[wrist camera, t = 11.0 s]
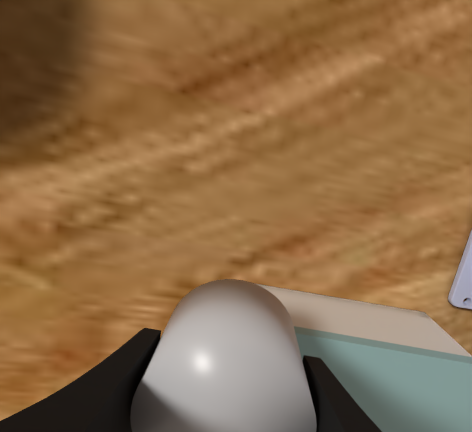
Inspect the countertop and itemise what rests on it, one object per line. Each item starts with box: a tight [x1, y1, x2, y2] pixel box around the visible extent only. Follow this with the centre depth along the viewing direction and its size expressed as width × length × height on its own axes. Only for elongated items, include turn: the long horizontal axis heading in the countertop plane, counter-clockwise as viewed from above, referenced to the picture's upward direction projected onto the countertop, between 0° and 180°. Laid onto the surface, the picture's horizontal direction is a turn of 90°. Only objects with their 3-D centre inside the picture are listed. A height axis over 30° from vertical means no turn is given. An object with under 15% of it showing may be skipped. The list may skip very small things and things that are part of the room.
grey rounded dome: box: [130, 279, 317, 432], centre depth 10 cm, size 5×5×4 cm
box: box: [256, 284, 472, 357], centre depth 19 cm, size 12×14×5 cm
